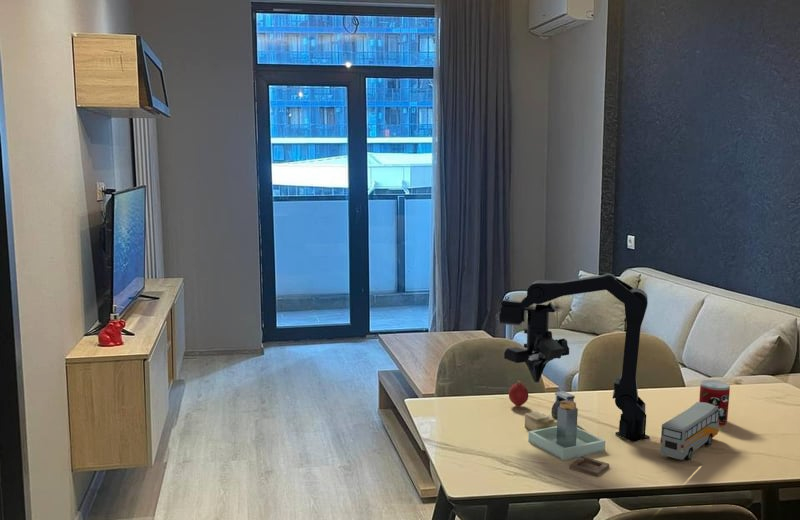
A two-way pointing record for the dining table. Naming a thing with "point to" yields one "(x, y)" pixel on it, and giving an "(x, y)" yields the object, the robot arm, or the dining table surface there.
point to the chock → (539, 421)
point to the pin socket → (589, 466)
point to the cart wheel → (560, 397)
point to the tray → (583, 447)
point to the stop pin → (567, 424)
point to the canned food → (716, 396)
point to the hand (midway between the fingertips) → (536, 382)
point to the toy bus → (690, 430)
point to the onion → (518, 394)
